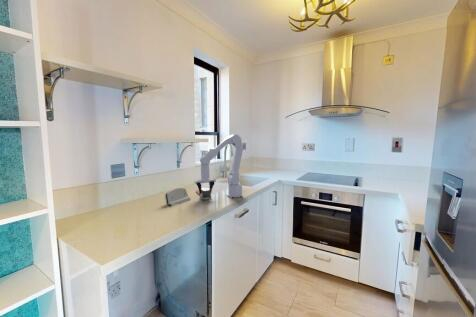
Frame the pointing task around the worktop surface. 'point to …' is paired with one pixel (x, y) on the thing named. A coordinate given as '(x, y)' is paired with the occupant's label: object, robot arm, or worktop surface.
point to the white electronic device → (176, 196)
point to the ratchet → (201, 196)
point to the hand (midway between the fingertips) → (205, 193)
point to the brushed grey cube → (205, 192)
